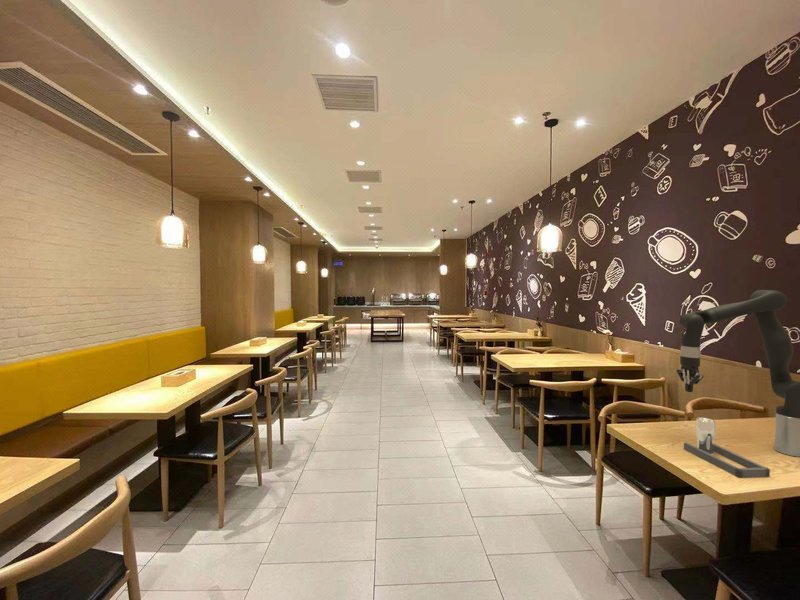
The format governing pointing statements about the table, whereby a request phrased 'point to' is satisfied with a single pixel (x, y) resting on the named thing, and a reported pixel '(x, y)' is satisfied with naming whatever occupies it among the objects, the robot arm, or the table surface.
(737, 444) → the table surface
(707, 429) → the beer glass
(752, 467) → the u rest
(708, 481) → the table surface
